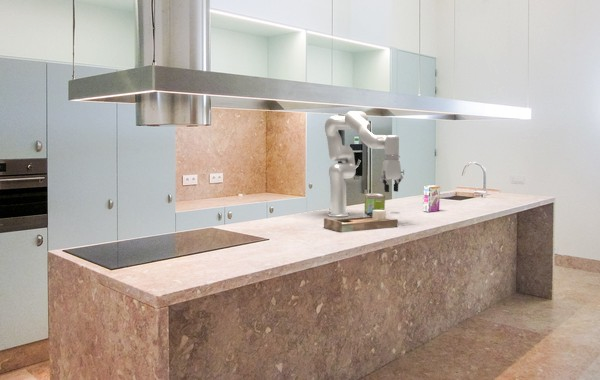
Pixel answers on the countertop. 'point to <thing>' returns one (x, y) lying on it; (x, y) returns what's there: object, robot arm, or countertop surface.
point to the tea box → (374, 203)
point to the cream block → (379, 214)
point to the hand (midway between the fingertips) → (391, 191)
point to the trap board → (358, 224)
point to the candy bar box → (431, 198)
